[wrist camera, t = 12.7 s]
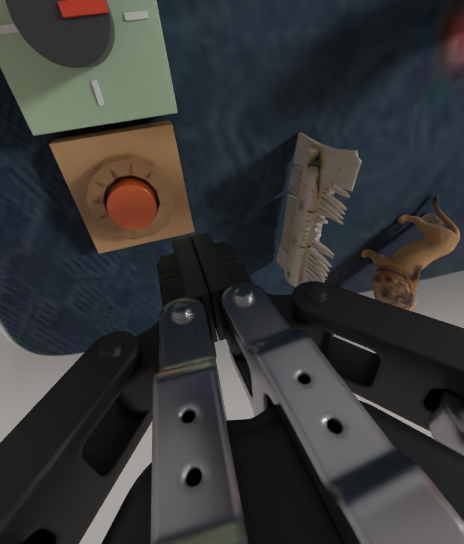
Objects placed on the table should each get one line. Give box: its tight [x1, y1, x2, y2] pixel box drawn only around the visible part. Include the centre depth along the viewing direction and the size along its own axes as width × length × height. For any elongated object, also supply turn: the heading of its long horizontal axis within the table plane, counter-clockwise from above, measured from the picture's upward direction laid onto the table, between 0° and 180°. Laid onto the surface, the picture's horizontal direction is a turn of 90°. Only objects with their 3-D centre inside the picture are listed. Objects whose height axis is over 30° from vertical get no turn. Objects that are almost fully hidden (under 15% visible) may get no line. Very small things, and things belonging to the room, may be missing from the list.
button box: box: [49, 120, 194, 254], centre depth 25 cm, size 10×9×4 cm
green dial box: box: [0, 0, 178, 136], centre depth 18 cm, size 11×10×3 cm
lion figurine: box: [361, 195, 460, 311], centre depth 35 cm, size 15×5×9 cm, turn 144°
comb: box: [276, 132, 362, 287], centre depth 28 cm, size 15×2×10 cm, turn 178°
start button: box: [107, 178, 157, 230], centre depth 23 cm, size 4×4×2 cm
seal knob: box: [5, 0, 115, 68], centre depth 15 cm, size 4×4×5 cm
